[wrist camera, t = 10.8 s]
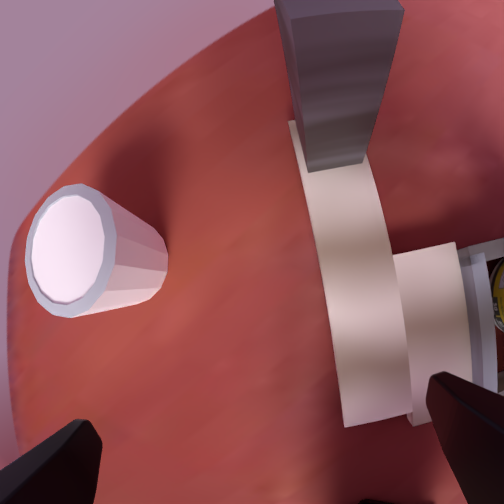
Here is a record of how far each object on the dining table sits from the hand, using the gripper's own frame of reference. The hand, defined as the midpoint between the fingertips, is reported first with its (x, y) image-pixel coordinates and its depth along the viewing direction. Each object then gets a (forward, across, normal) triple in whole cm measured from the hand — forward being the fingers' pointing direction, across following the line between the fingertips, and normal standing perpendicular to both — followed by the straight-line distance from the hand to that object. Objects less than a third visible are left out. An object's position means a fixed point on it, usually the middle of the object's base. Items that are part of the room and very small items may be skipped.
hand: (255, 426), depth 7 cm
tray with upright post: (+11, -13, +1) cm, 17 cm away
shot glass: (+15, +8, -1) cm, 17 cm away
